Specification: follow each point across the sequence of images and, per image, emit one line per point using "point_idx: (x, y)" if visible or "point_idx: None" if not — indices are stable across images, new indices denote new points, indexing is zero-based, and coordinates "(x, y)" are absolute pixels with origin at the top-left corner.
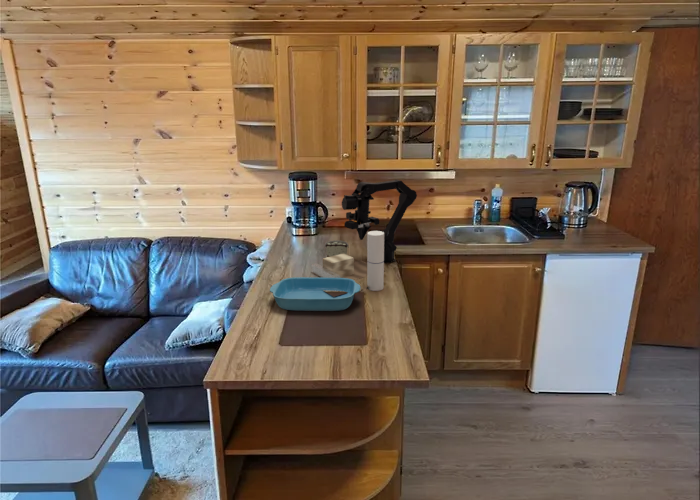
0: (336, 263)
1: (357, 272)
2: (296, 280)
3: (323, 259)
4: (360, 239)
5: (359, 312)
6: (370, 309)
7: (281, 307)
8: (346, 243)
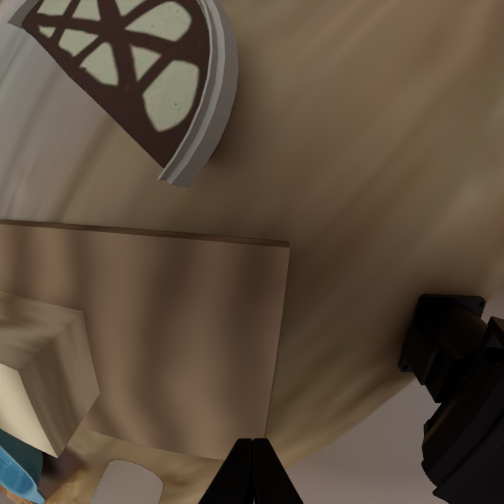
0: None
1: (124, 395)
2: None
3: None
4: (238, 446)
5: (47, 483)
6: (71, 495)
7: None
8: (204, 100)
